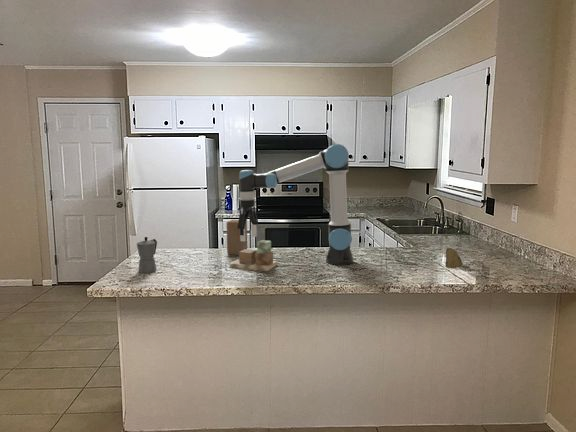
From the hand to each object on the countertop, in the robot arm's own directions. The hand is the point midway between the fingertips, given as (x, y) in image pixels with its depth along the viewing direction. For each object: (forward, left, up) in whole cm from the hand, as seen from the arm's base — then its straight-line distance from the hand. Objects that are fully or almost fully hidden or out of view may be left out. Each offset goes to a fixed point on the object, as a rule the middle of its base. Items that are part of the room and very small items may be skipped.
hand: (248, 238), depth 238 cm
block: (+19, -23, -15) cm, 34 cm away
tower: (-9, 0, -13) cm, 16 cm away
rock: (-104, -37, -15) cm, 111 cm away
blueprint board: (-3, 0, -15) cm, 15 cm away
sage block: (+3, -14, -15) cm, 21 cm away
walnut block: (0, 0, -13) cm, 13 cm away
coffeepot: (+44, +28, -15) cm, 54 cm away
